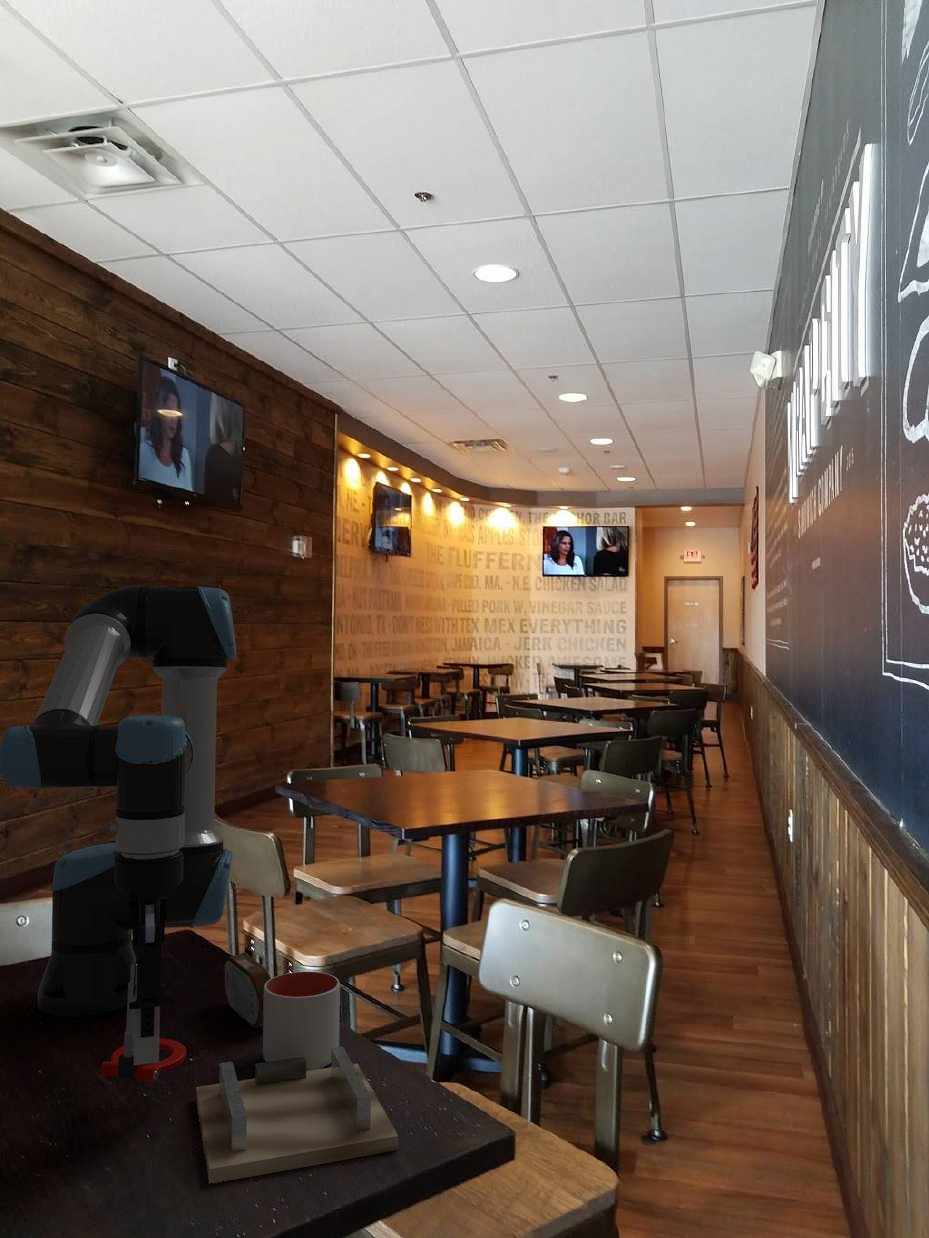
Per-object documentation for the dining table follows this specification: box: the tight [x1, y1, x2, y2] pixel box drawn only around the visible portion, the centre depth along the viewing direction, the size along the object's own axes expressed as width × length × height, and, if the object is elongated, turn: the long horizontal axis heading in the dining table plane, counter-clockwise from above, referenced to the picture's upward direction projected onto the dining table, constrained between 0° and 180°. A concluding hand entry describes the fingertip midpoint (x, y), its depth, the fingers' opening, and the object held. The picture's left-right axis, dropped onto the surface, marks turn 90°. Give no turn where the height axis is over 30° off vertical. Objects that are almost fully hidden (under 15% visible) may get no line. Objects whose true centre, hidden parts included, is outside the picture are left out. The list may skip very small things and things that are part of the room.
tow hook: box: [99, 963, 187, 1083], centre depth 110 cm, size 8×13×9 cm
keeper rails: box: [218, 1045, 371, 1152], centre depth 108 cm, size 16×15×4 cm
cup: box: [262, 971, 341, 1071], centre depth 124 cm, size 10×10×10 cm
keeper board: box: [195, 1063, 399, 1185], centre depth 107 cm, size 19×20×2 cm
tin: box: [223, 952, 272, 1029], centre depth 138 cm, size 15×3×8 cm, turn 34°
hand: (146, 1056), depth 107 cm, fingers closed on tow hook, 2 cm apart
